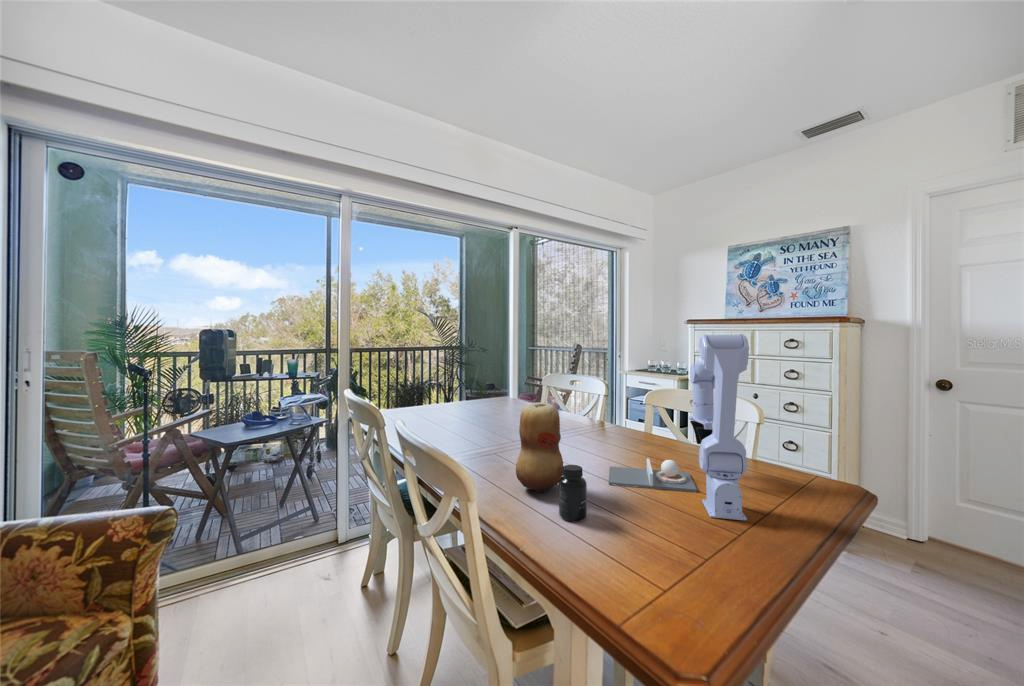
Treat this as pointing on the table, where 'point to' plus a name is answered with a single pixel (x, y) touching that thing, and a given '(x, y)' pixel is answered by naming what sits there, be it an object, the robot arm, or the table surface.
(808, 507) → the table surface
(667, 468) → the ball
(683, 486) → the board
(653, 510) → the table surface
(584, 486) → the supplement bottle
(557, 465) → the butternut squash
